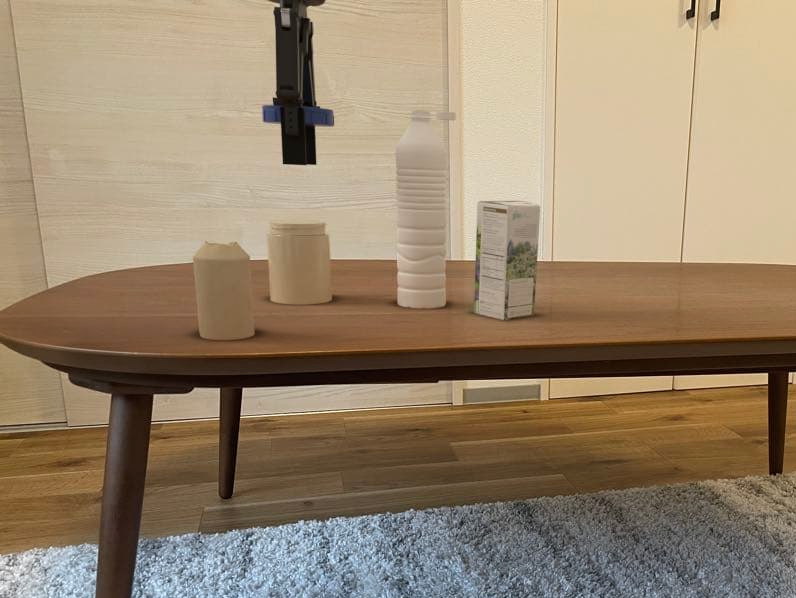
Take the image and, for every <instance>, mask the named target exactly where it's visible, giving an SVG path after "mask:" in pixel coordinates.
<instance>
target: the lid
mask: <svg viewBox="0 0 796 598" xmlns="http://www.w3.org/2000/svg"><path fill="white" fill-rule="evenodd" d="M280 107H284V106H274V105H273V104H263V105H262V106H261V112H262V113H261V114H262V122H263V123H266V124H274V125H281V117H280ZM298 108H304V109H305V126H315V127H319V128H321V127H322V128H323V127H324V128H333V127H334V126H335V114H334V110H333V109H330V108H323V107H320V108H315V107H303V106H302V107H298Z"/></svg>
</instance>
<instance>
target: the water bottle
mask: <svg viewBox="0 0 796 598" xmlns="http://www.w3.org/2000/svg"><path fill="white" fill-rule="evenodd" d="M411 115H412V116H410V117H409V118H410V119H411V122H410V124H409V125H408V127H407V128H406V129H405V131H404V133H403V134H402V136H401V137H400V139H399V141H398V142H397V145H396V148H395V165H396V166H395V167H396V171H395V172H396V173H395V174H396V179H395V180H396V183H395V184H396V190H395V191H396V226H397V228H396V241H397V244H396V251H397V255H396V256H397V257H396V267H397V270H398V271H397V273H396V274H397V275H396V278H397V281H396V282H397V285H398V287H397V288H396V290H397V292H396V293H397V295H396V297H397V298H396V299H397V300H396V301H397V305H398V306H400V307H403V308H410V309H424V310H425V309H428V310H429V309H438V308H443V307H445V306H446V304H447V289H446V285H447V275H446V269H447V260H446V257H447V245H446V242H447V229H446V227H447V210H446V209H447V203H446V202H447V197H446V196H447V191H446V190H447V184H446V183H447V163H448V160H447V159H448V155H447V148H446V146H445V144H444V142H443V140H442V139H441V137H440V135H439V134H438V132H437V130H436V129H435V128H434V125H433V124H432V119H433V118H432V117H431V111H430V110H425V109H424V110H423V109H412V111H411ZM456 117H457V113H456V112H454V111H436V120H438V121H457V120H456V119H457V118H456Z"/></svg>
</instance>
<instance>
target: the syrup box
mask: <svg viewBox="0 0 796 598" xmlns="http://www.w3.org/2000/svg"><path fill="white" fill-rule="evenodd" d="M476 207H477V209H476V211H477V212H476V239H475V264H474V265H475V269H474V297H473V298H474V299H473V314H476V315H480V316H484V317H488V318H492V319H497V320H501V321H509V320H514V319H521V318H526V317H527V318H528V317H533V316H534V315H535V309H536V308H535V307H536V290H537V289H536V287H537V274H538V273H537V272H538V271H537V269H538V257H539V254H538V253H539V251H538V250H539V236H540V219H541V205H540V204H538V203H534V202H531V201H526V200H479V201H477V205H476Z"/></svg>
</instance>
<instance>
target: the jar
mask: <svg viewBox="0 0 796 598" xmlns="http://www.w3.org/2000/svg"><path fill="white" fill-rule="evenodd" d="M326 226H327V223H326V222H325V221H324V220H316V219H301V218H300V219H297V218H296V219H293V218H290V219H289V218H288V219H287V218H285V219H283V218H282V219H272V220H269V231H267V232H265V233H266V247H267V248H266V249H267V265H268V281H269V282H268V283H269V298H270V301H271V302H273V303H277V304H284V305H316V304H317V305H318V304H324V303H328V302H331V301H333V288H332V287H333V286H332V285H333V283H332V282H333V281H332V261H331V260H332V258H331V255H332V254H331V234H330V232H327V230H326V229H327V227H326Z"/></svg>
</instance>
